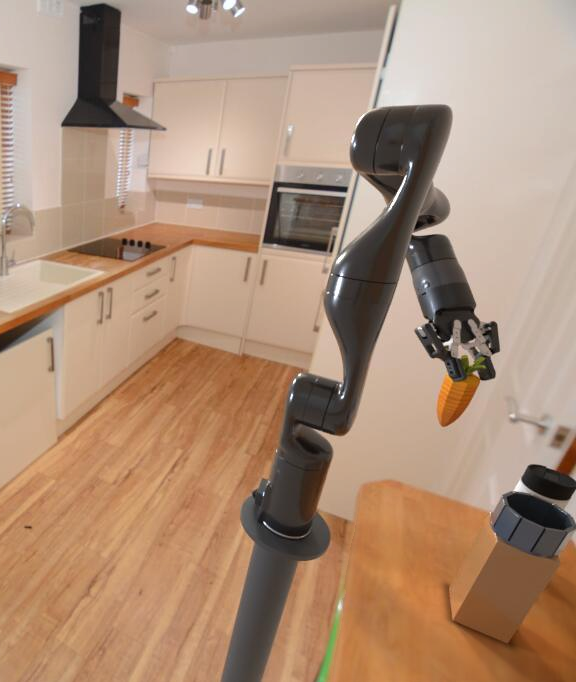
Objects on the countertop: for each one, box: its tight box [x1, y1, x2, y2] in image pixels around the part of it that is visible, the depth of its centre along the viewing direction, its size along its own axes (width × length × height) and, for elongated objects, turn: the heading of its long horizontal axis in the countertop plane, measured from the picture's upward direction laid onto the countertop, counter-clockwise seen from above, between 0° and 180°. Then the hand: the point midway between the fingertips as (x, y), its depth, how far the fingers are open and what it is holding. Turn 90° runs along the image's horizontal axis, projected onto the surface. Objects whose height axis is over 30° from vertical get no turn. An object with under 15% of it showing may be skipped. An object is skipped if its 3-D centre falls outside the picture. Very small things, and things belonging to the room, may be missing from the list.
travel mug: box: [513, 463, 576, 511], centre depth 81 cm, size 6×7×20 cm
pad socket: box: [448, 490, 576, 644], centre depth 70 cm, size 8×8×23 cm
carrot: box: [436, 354, 486, 428], centre depth 81 cm, size 5×5×15 cm
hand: (474, 379), depth 78 cm, fingers closed on carrot, 4 cm apart
